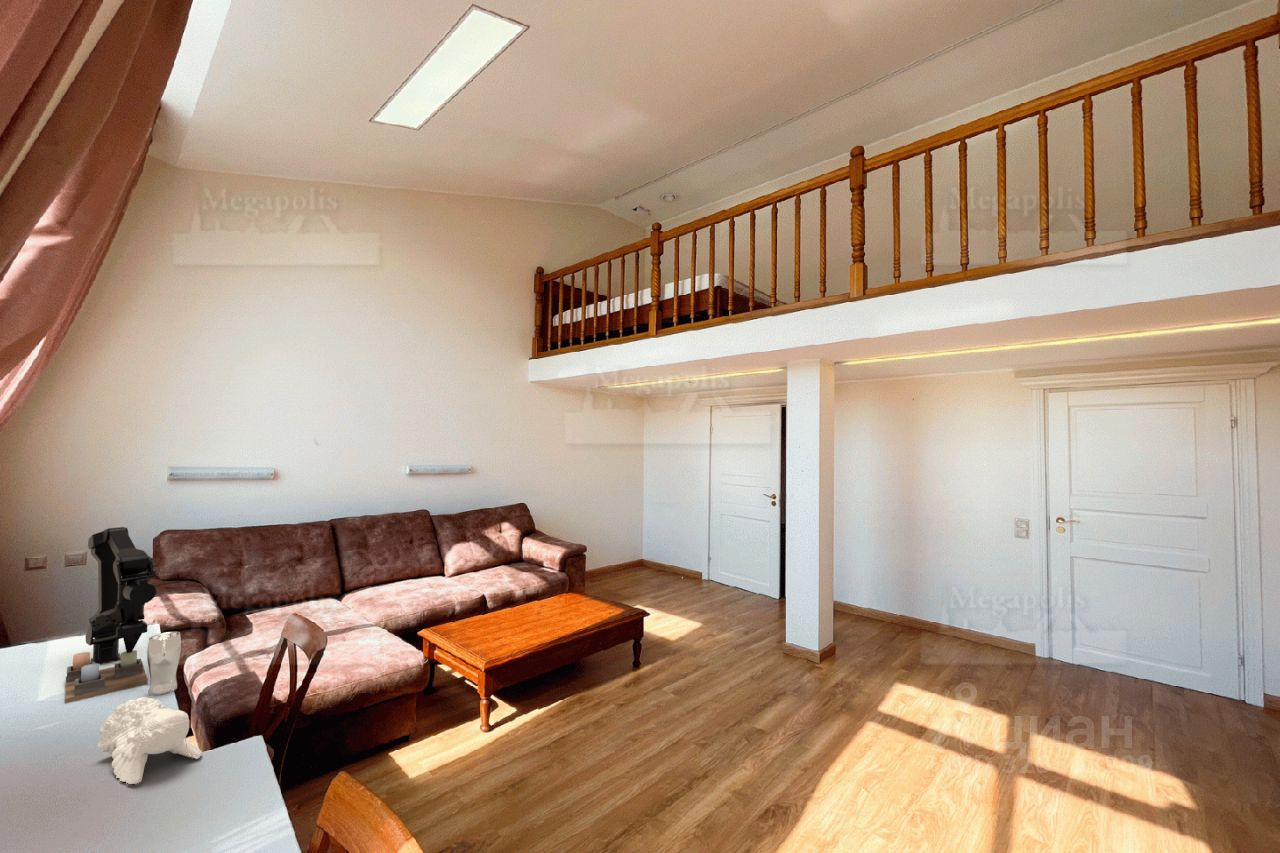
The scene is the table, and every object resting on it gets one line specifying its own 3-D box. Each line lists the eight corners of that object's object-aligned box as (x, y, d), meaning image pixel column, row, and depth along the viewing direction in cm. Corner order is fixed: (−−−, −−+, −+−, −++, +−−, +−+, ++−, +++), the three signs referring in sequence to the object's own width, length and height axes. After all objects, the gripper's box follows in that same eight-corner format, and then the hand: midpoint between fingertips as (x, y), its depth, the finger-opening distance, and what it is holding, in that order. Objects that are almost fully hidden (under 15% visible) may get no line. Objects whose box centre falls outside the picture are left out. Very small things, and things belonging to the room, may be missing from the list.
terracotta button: (72, 670, 155) (73, 654, 155) (89, 666, 157) (90, 651, 157) (72, 673, 152) (73, 657, 152) (89, 670, 155) (90, 654, 155)
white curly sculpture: (174, 687, 128) (212, 698, 118) (172, 742, 127) (210, 759, 117) (98, 708, 117) (132, 723, 107) (95, 769, 116) (130, 790, 105)
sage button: (120, 668, 157) (120, 652, 157) (136, 664, 159) (136, 649, 160) (120, 671, 155) (121, 655, 155) (137, 668, 157) (137, 652, 157)
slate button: (80, 682, 147) (81, 665, 147) (98, 678, 149) (99, 662, 149) (80, 686, 144) (81, 669, 145) (98, 682, 147) (99, 665, 147)
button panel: (65, 681, 154) (66, 666, 155) (141, 664, 166) (142, 651, 166) (64, 703, 141) (65, 687, 142) (147, 684, 153) (148, 669, 153)
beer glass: (163, 697, 145) (166, 640, 146) (138, 696, 145) (140, 639, 146) (186, 685, 152) (188, 631, 153) (161, 685, 152) (163, 631, 153)
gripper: (91, 597, 158) (88, 651, 158) (92, 611, 145) (90, 670, 145) (142, 590, 166) (140, 641, 166) (148, 602, 154) (146, 658, 153)
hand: (129, 652), depth 157 cm, fingers closed, pressing on sage button
